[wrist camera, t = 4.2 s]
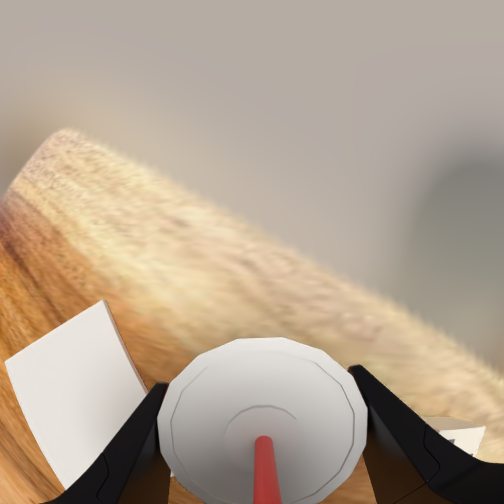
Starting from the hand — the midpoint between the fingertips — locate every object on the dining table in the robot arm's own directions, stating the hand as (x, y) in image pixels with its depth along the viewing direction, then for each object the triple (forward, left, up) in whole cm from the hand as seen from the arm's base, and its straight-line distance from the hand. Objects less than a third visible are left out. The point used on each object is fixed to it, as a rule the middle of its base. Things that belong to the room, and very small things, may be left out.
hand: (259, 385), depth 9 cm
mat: (-14, +6, -10) cm, 18 cm away
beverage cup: (-1, -1, -7) cm, 7 cm away
